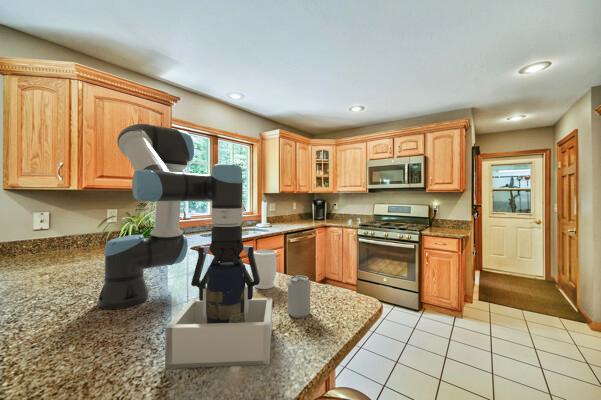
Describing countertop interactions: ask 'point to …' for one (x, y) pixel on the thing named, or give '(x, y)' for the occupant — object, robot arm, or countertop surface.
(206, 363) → the open box
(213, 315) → the canister
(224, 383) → the countertop surface
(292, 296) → the can
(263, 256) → the jar
